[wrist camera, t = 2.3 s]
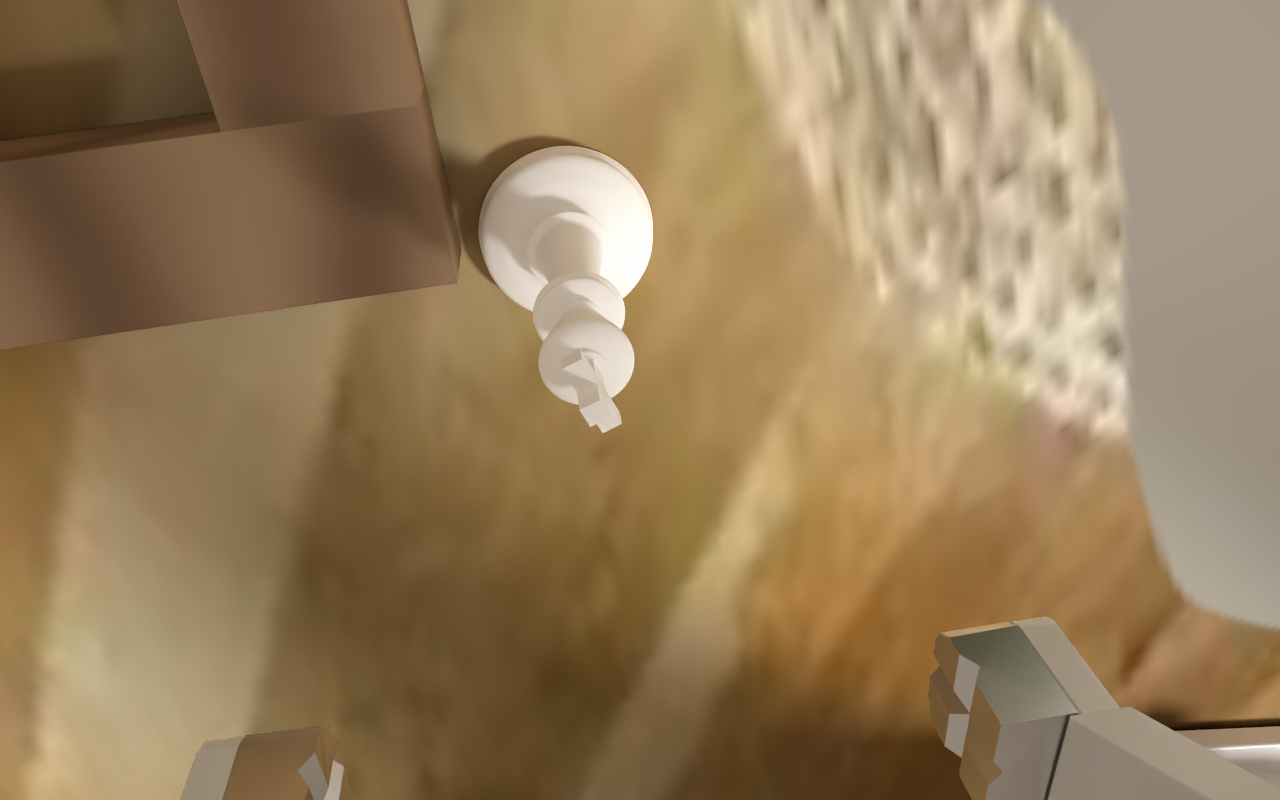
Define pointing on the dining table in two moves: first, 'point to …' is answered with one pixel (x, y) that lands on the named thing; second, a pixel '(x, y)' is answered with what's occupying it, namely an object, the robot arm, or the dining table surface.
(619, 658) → the dining table surface
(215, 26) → the socket block
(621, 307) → the chess piece
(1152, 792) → the robot arm
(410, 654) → the dining table surface
